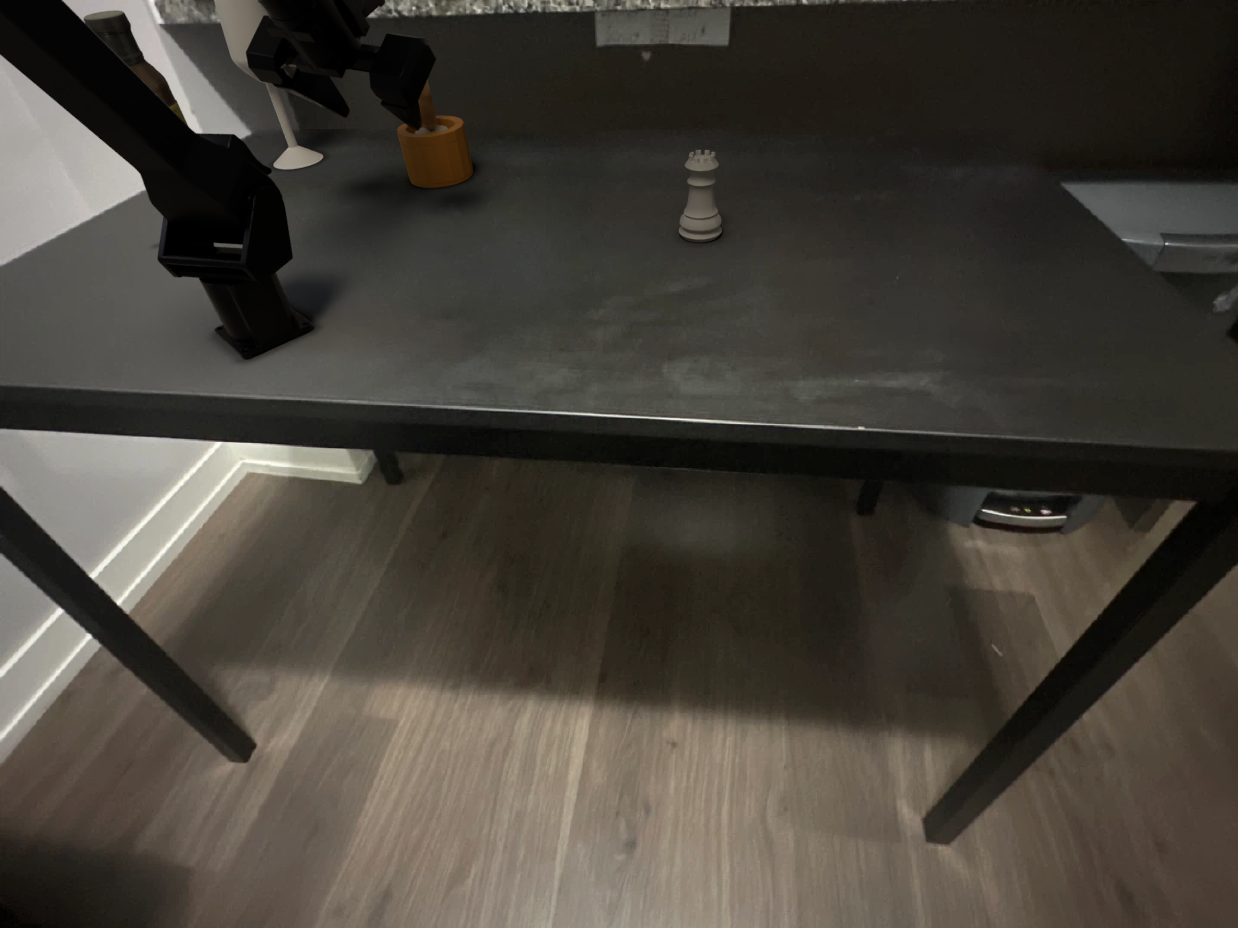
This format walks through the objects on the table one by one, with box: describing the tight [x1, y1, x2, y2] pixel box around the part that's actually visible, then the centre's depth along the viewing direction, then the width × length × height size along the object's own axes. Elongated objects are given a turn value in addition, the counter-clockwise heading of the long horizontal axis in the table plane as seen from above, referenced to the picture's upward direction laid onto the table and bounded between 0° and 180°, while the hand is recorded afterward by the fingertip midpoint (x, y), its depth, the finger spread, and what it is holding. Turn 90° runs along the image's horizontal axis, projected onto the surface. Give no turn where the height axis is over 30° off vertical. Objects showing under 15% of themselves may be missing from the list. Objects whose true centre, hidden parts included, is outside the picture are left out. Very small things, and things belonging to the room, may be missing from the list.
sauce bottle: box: [82, 9, 189, 126], centre depth 80 cm, size 6×6×20 cm
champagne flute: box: [213, 0, 324, 170], centre depth 87 cm, size 7×7×24 cm
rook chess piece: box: [678, 149, 723, 243], centre depth 68 cm, size 4×4×8 cm
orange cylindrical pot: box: [396, 115, 474, 189], centre depth 85 cm, size 8×8×6 cm
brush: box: [415, 78, 448, 134], centre depth 83 cm, size 4×4×13 cm
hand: (382, 120), depth 75 cm, fingers open, 9 cm apart
